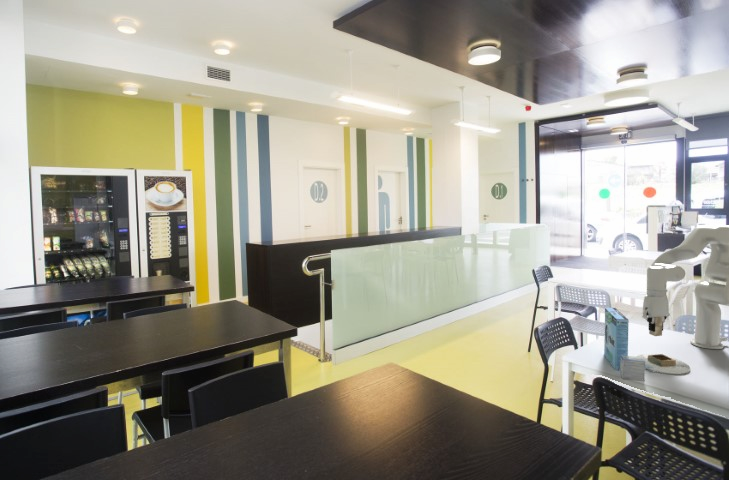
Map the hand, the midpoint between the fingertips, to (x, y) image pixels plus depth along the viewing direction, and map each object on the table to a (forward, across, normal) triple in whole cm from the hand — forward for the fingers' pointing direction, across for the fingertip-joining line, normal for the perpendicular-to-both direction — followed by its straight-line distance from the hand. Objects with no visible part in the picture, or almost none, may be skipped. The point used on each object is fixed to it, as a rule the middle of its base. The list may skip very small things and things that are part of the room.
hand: (655, 330), depth 196 cm
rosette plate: (+11, +9, +13) cm, 19 cm away
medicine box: (+10, +31, +22) cm, 40 cm away
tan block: (+2, 0, 0) cm, 2 cm away
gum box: (+10, +26, +6) cm, 29 cm away
